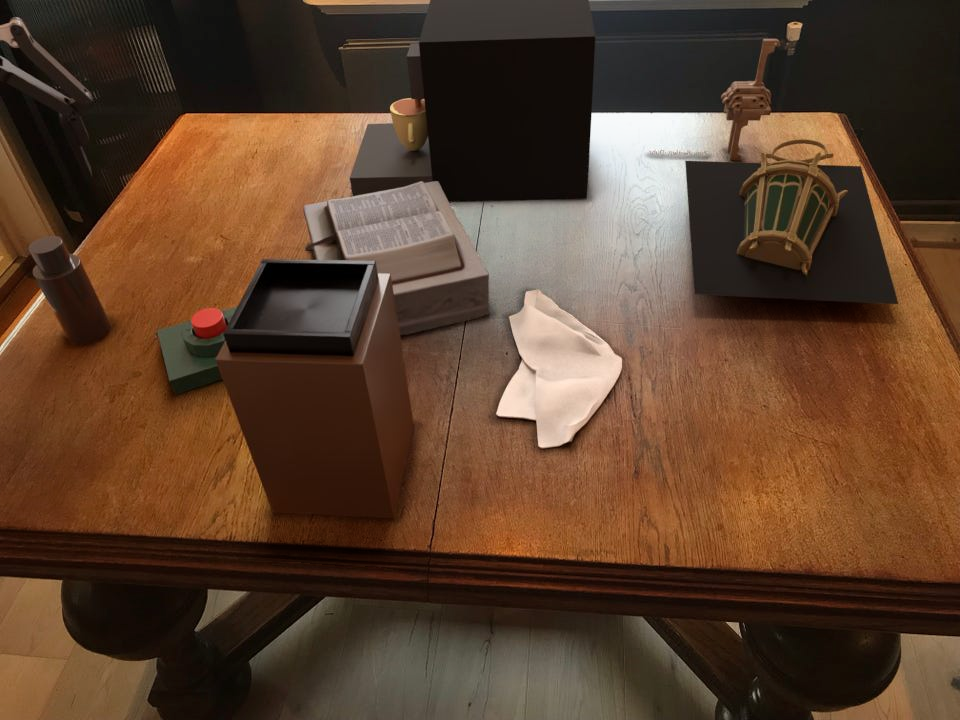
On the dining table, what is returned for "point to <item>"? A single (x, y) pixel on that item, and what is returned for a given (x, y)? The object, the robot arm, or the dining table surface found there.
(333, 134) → the dining table surface
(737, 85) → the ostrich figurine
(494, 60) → the coffee maker
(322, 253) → the bible
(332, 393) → the brown pedestal
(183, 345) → the base
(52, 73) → the robot arm
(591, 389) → the cloth
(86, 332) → the metal bottle
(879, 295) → the lantern
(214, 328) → the button
